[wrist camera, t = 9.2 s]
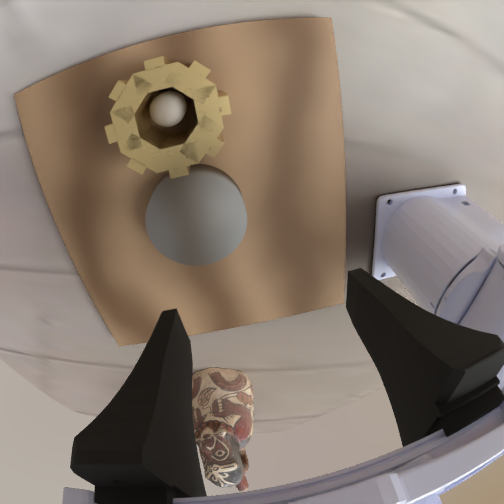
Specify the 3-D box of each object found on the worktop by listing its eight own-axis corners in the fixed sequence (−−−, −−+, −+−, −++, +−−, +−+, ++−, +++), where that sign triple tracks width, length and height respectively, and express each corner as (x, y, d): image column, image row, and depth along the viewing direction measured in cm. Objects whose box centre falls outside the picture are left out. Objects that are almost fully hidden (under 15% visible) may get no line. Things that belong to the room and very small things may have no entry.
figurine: (233, 358, 30) (249, 471, 20) (261, 390, 34) (281, 485, 24) (173, 379, 31) (174, 485, 21) (207, 408, 35) (215, 499, 25)
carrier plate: (324, 20, 15) (355, 9, 12) (339, 294, 27) (358, 330, 24) (22, 92, 15) (-16, 102, 11) (121, 336, 27) (113, 376, 23)
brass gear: (215, 50, 15) (219, 44, 12) (232, 145, 18) (240, 163, 15) (115, 75, 15) (92, 77, 11) (137, 167, 18) (123, 191, 15)
